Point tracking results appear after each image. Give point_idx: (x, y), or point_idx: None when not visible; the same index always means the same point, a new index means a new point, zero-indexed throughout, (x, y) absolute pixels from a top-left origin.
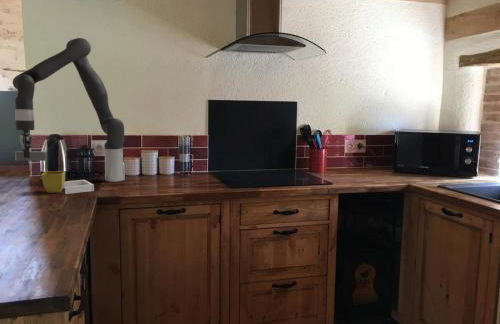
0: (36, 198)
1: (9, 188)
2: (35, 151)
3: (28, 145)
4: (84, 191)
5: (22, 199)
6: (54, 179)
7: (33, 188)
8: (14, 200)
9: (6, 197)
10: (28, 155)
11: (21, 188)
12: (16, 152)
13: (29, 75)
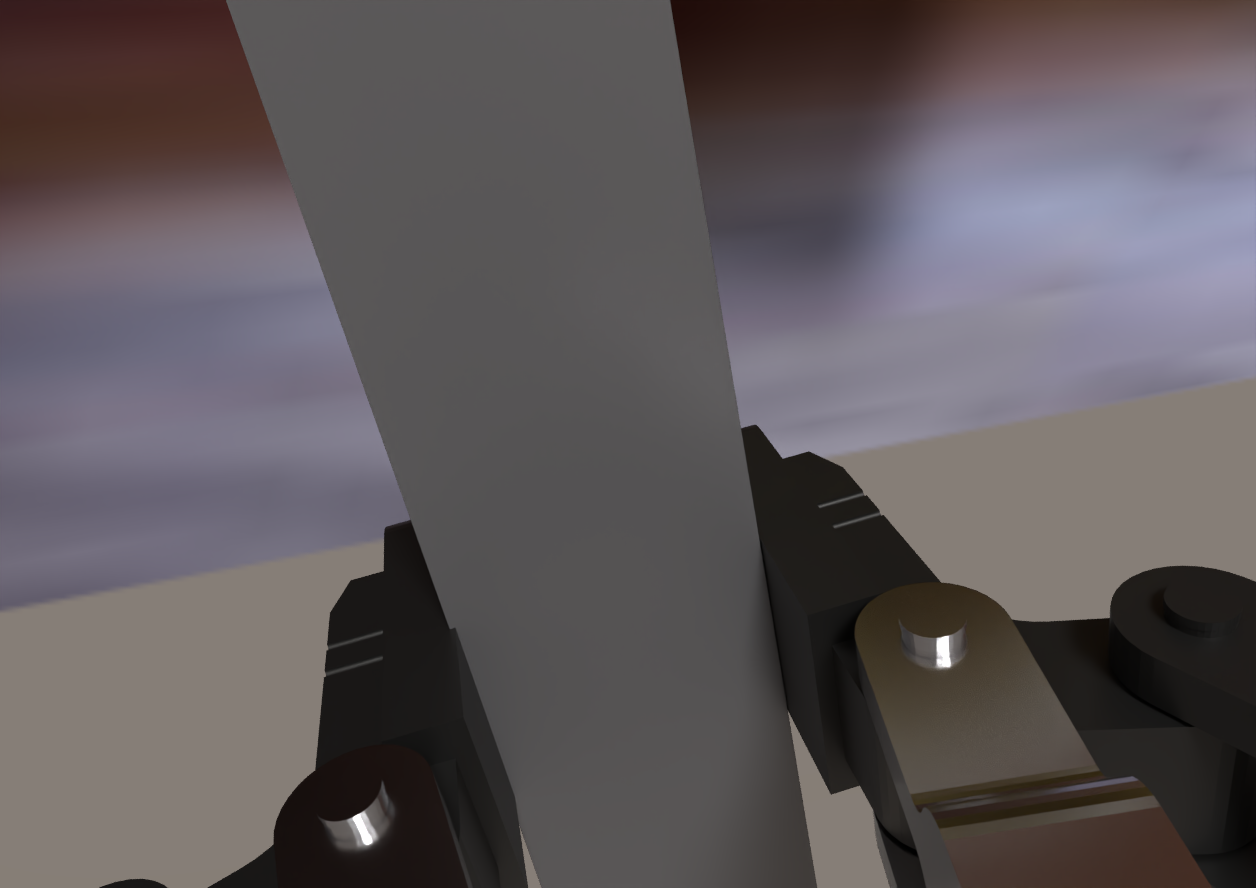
0: (1144, 28)
1: (180, 515)
2: (351, 321)
3: (1010, 787)
4: None
5: (1101, 217)
6: None
7: (257, 134)
8: (1105, 306)
9: (874, 428)
10: (843, 481)
11: (215, 340)
12: (812, 886)
13: None
